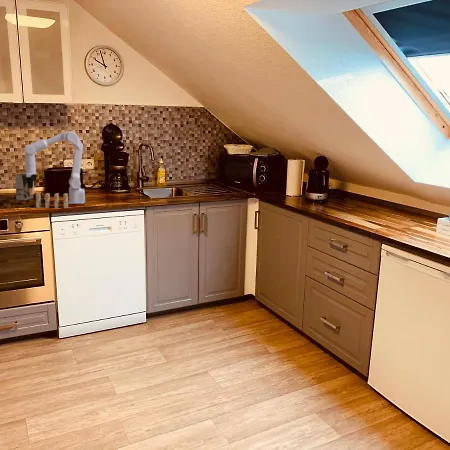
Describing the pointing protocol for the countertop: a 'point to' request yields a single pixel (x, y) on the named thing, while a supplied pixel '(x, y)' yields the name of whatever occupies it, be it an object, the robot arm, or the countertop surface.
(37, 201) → the domino
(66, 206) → the domino
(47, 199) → the domino
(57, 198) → the domino
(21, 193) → the coffee box
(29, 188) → the end domino
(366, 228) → the countertop surface
